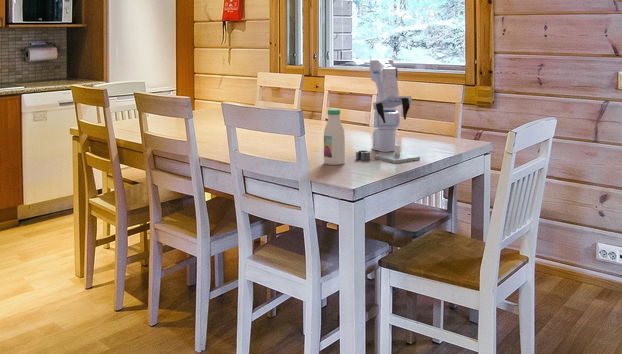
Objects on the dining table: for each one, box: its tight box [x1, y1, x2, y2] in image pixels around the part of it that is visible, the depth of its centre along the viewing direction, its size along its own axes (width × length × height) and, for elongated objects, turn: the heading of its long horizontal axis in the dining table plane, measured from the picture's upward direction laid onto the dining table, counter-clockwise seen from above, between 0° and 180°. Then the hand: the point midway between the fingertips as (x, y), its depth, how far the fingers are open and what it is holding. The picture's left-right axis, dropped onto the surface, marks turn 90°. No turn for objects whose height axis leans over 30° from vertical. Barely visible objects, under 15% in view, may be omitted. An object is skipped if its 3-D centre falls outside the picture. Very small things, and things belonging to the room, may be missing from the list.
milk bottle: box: [323, 108, 346, 166], centre depth 237 cm, size 8×8×20 cm
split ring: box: [355, 149, 371, 162], centre depth 245 cm, size 5×5×3 cm
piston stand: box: [374, 144, 421, 164], centre depth 244 cm, size 12×12×5 cm
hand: (394, 119), depth 239 cm, fingers open, 7 cm apart
